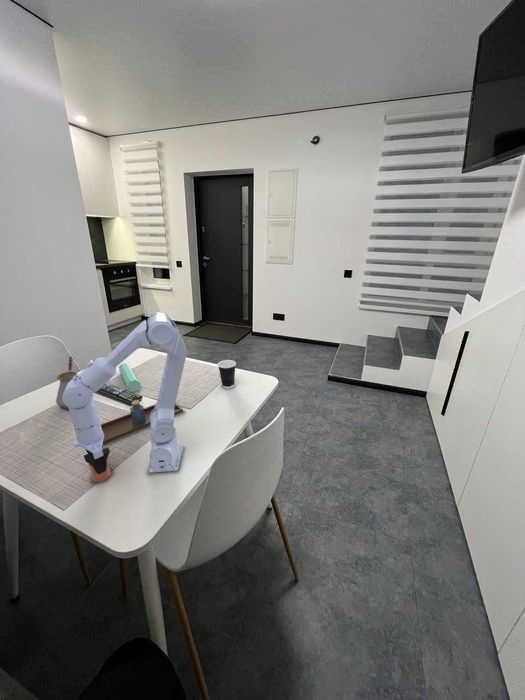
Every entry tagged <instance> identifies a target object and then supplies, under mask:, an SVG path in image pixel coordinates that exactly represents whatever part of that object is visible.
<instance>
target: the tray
mask: <svg viewBox="0 0 525 700" xmlns="http://www.w3.org/2000/svg"><path fill="white" fill-rule="evenodd" d="M154 408H155V404H152V405H149V406H147V407H144V413H145V418H146V421H145V422H144V423H142V424H139V425H135V424H133V422H132V417H131V412H130V413H128V414H125V415H122V416H119V417H116V418H114V419H112V420H108V421H106V422H103V423H100V424H101V428H102V431H103V432H104V440H103V444H102V446H103V445H107V444H108V443H111V442H113V441H116V440H119V439H121V438H123V437H126V436H128V435H130V434H133V433H135V432H138V431H140V430H142V429H145V428H148V427H151V424H150V419H149V416H150V413H151V412H152V411H153V409H154ZM183 412H184V410H183V408H182V407H181V406H180V405H179V404H178V402H176V403H175V407H174V416H176V415H179V414H182V413H183Z"/></svg>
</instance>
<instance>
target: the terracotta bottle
mask: <svg viewBox="0 0 525 700" xmlns="http://www.w3.org/2000/svg"><path fill="white" fill-rule="evenodd" d="M88 467H89V471H90V474H91V478H92V480H93V482H95V483H102V482H104V481H106V480H107V479H109V478H110V476H111V468H110V465H109V461H108V460H107V469H106V471H105V472H103V473H101V474H99V475H98V474H97V473H96V471H95V470H94V468H93V466H92V465H91V464H89V463H88Z"/></svg>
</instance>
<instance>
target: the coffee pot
mask: <svg viewBox="0 0 525 700" xmlns="http://www.w3.org/2000/svg"><path fill="white" fill-rule="evenodd" d="M67 359H68V371H65V372H62V373H59V374H58V375H57V376H56V379H57V380H59V384H58V385H59V386H58V390H57V395H56V399H55V403H56V405H57V406H58V407H61V408H64V409H67V410H69V408H68V407H67V406H66V405H65V404H64V403H63V401H62V395H63V393H64V390H65V388H66V386H67V384H68V383H69V381H71V380H72V379H73V377H74V376H75V375H77V376H78V373H77V372H76V371H72V369H73V360H75V358H73V356H69V357H68V358H67Z"/></svg>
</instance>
